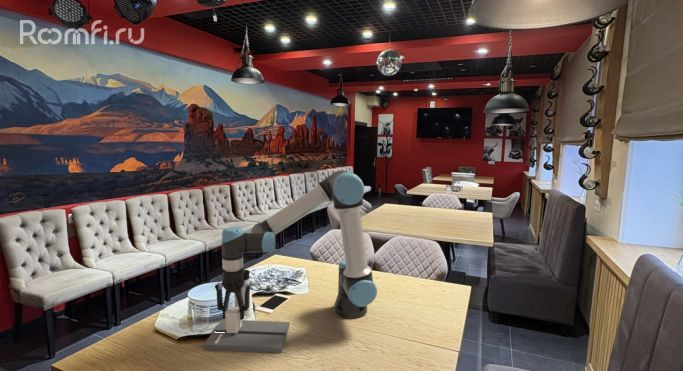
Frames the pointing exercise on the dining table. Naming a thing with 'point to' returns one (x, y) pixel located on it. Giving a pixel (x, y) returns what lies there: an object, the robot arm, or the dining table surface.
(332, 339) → the dining table surface
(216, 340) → the slider panel
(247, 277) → the travel mug
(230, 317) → the slider handle
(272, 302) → the cell phone
